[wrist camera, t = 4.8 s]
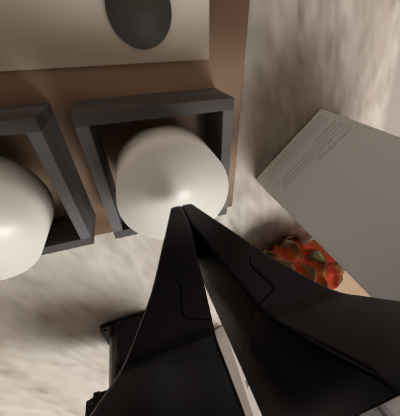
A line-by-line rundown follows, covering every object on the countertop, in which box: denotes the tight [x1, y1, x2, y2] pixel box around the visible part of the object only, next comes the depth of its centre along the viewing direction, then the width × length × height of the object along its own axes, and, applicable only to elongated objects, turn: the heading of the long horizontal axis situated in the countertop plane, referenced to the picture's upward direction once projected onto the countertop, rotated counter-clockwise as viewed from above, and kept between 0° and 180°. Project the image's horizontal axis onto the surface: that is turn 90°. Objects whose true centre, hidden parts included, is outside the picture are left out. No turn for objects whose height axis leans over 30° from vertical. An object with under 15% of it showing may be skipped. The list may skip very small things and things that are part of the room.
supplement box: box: [257, 109, 400, 301], centre depth 15 cm, size 7×7×13 cm
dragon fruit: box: [263, 235, 345, 289], centre depth 25 cm, size 8×8×12 cm
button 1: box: [115, 124, 229, 240], centre depth 11 cm, size 5×5×2 cm
